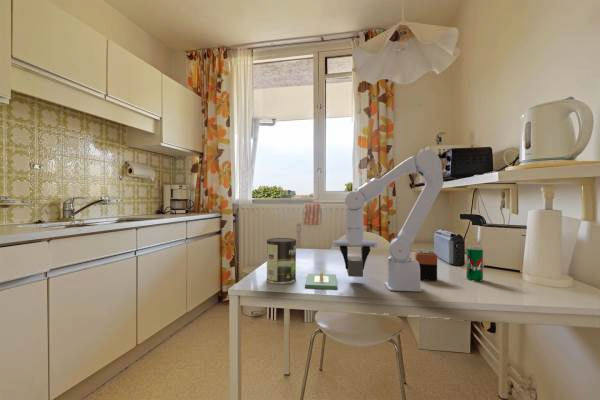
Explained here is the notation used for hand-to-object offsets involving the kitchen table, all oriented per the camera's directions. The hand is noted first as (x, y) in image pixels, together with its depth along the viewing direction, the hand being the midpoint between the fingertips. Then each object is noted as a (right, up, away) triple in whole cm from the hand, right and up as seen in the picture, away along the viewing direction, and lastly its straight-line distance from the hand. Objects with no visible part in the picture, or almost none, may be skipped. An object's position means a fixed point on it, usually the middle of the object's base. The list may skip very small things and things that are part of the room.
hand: (354, 268), depth 96 cm
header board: (-11, -5, +1) cm, 12 cm away
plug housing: (0, -2, 0) cm, 2 cm away
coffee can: (-25, -5, +4) cm, 26 cm away
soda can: (+44, -6, +6) cm, 44 cm away
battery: (+27, -5, +6) cm, 28 cm away
